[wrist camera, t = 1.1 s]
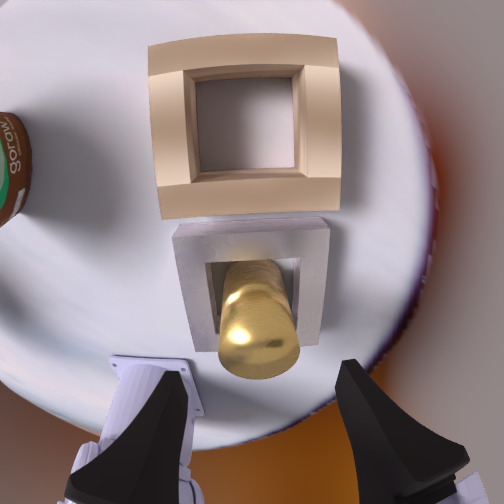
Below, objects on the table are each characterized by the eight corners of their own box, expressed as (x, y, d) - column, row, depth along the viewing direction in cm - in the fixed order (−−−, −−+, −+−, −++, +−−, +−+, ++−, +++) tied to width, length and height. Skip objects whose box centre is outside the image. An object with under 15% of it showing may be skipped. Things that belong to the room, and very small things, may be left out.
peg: (281, 302, 20) (297, 376, 14) (227, 306, 20) (223, 381, 14) (282, 253, 18) (302, 321, 12) (221, 257, 18) (213, 326, 12)
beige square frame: (321, 194, 17) (339, 210, 13) (176, 201, 16) (161, 219, 13) (318, 54, 13) (336, 38, 10) (166, 61, 13) (148, 46, 9)
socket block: (312, 325, 21) (318, 344, 19) (199, 332, 21) (195, 351, 19) (320, 216, 17) (330, 228, 15) (179, 224, 17) (171, 237, 15)
